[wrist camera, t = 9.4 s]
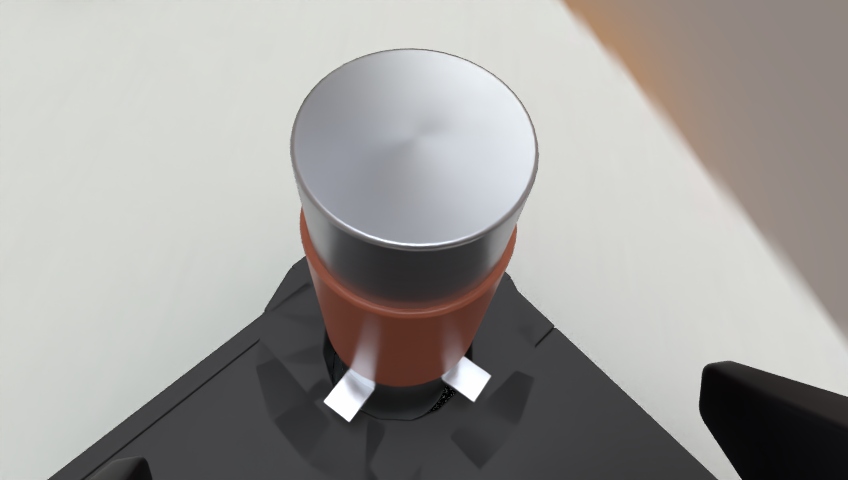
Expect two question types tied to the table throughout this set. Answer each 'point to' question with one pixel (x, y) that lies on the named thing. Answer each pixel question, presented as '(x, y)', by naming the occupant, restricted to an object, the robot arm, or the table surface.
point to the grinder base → (392, 438)
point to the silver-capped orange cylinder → (409, 220)
